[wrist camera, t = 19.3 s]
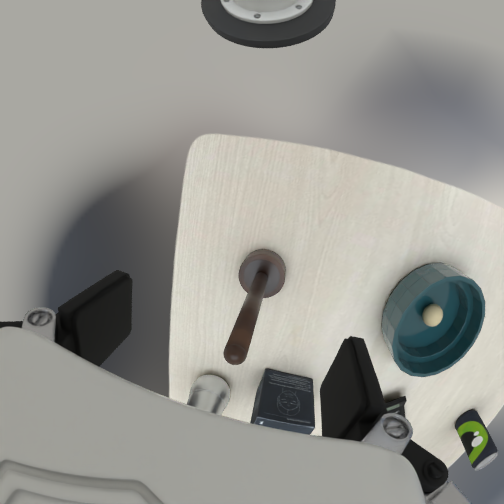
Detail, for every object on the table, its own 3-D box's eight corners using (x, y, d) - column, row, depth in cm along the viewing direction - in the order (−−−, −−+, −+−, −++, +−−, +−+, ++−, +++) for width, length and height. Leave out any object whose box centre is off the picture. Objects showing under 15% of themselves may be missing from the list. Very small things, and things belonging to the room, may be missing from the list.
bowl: (404, 249, 32) (423, 262, 26) (478, 275, 31) (499, 289, 25) (364, 346, 36) (373, 371, 30) (438, 358, 35) (452, 379, 29)
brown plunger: (265, 240, 34) (232, 308, 16) (294, 272, 35) (292, 366, 17) (233, 268, 36) (177, 351, 18) (262, 298, 36) (233, 400, 18)
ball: (449, 310, 30) (435, 297, 32) (441, 315, 29) (426, 301, 31) (438, 327, 31) (424, 314, 34) (429, 333, 30) (415, 319, 32)
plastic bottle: (237, 377, 41) (204, 480, 22) (227, 402, 43) (196, 496, 23) (199, 364, 41) (149, 460, 22) (193, 389, 43) (149, 478, 24)
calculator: (360, 438, 42) (362, 448, 39) (351, 405, 39) (353, 417, 37) (404, 423, 39) (407, 433, 36) (401, 387, 37) (406, 398, 34)
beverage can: (472, 420, 38) (492, 462, 23) (451, 430, 39) (470, 475, 25) (478, 404, 36) (502, 448, 22) (457, 414, 38) (479, 461, 23)
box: (256, 390, 41) (246, 439, 31) (265, 366, 39) (256, 416, 29) (301, 401, 40) (300, 449, 30) (313, 378, 39) (315, 428, 29)
